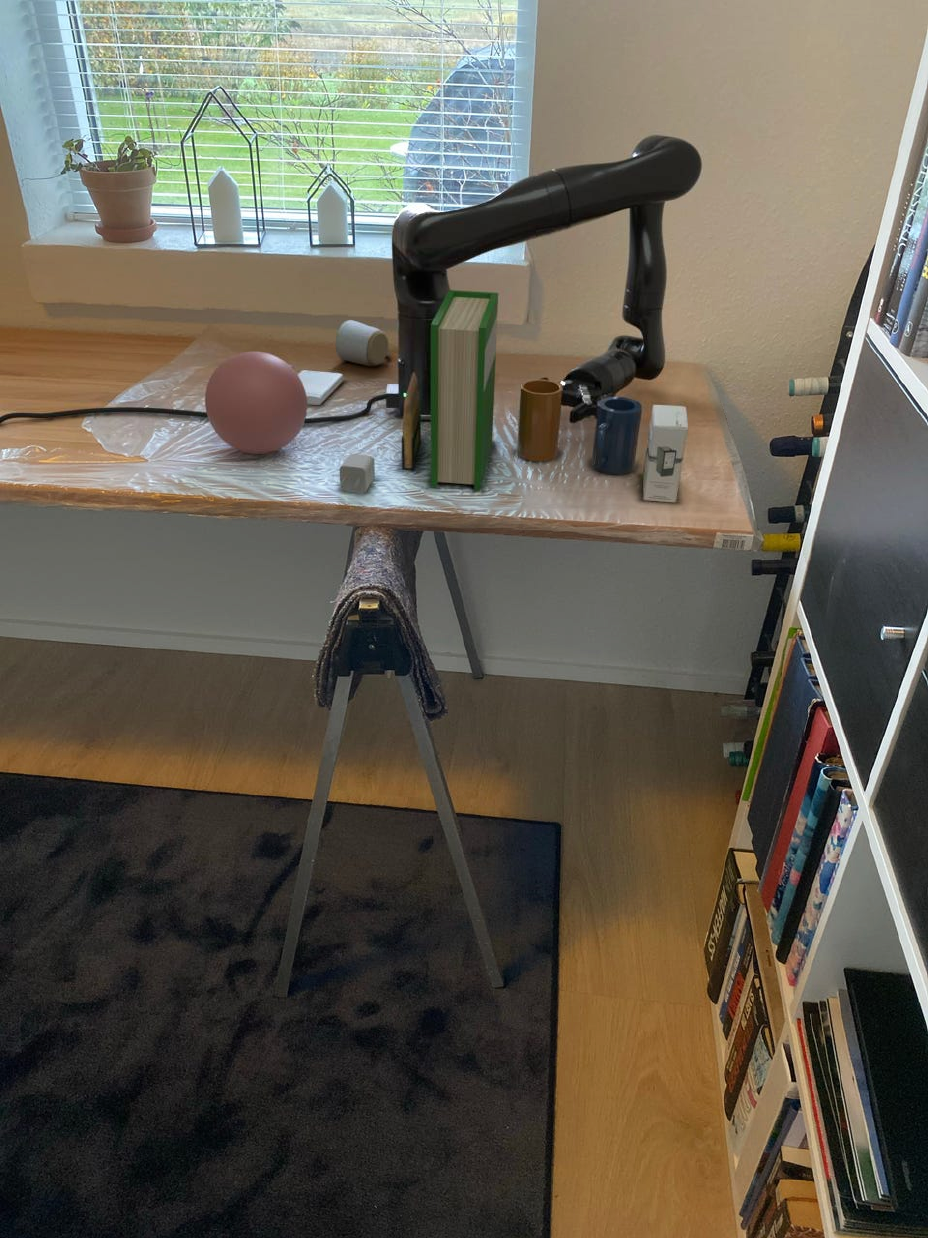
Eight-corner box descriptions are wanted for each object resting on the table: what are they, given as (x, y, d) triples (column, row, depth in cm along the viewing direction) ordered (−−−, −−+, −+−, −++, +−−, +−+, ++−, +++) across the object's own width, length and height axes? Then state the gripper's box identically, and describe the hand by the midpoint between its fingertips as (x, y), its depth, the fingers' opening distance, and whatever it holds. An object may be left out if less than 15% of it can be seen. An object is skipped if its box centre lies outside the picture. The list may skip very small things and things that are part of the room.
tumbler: (518, 461, 147) (522, 393, 141) (515, 444, 152) (519, 379, 146) (559, 461, 147) (564, 394, 141) (554, 445, 152) (560, 379, 146)
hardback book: (480, 491, 138) (485, 327, 125) (430, 487, 139) (430, 324, 125) (492, 443, 152) (498, 292, 139) (447, 440, 153) (449, 289, 140)
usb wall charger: (375, 480, 140) (374, 456, 138) (361, 501, 134) (360, 475, 132) (349, 477, 141) (348, 453, 138) (335, 498, 135) (333, 472, 133)
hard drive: (301, 369, 175) (275, 391, 165) (343, 373, 174) (319, 396, 164) (302, 378, 176) (276, 400, 166) (343, 382, 175) (320, 405, 165)
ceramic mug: (369, 372, 179) (368, 331, 175) (335, 364, 183) (333, 324, 178) (400, 358, 187) (400, 319, 183) (367, 350, 190) (366, 312, 186)
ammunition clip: (414, 470, 143) (413, 395, 137) (402, 469, 143) (400, 394, 137) (420, 442, 152) (420, 370, 145) (409, 442, 152) (408, 369, 146)
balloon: (340, 429, 156) (335, 337, 147) (280, 476, 140) (270, 377, 132) (259, 415, 160) (250, 325, 152) (192, 460, 145) (177, 362, 136)
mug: (603, 453, 150) (610, 393, 144) (641, 463, 147) (649, 402, 141) (575, 474, 143) (581, 412, 138) (614, 485, 140) (621, 422, 135)
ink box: (641, 475, 143) (651, 402, 137) (674, 478, 143) (686, 404, 136) (642, 500, 136) (653, 424, 130) (676, 503, 136) (689, 427, 129)
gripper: (559, 352, 160) (510, 378, 149) (635, 369, 154) (590, 398, 143) (556, 394, 165) (508, 423, 153) (630, 412, 158) (585, 444, 147)
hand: (548, 411), depth 148 cm, fingers open, 8 cm apart
